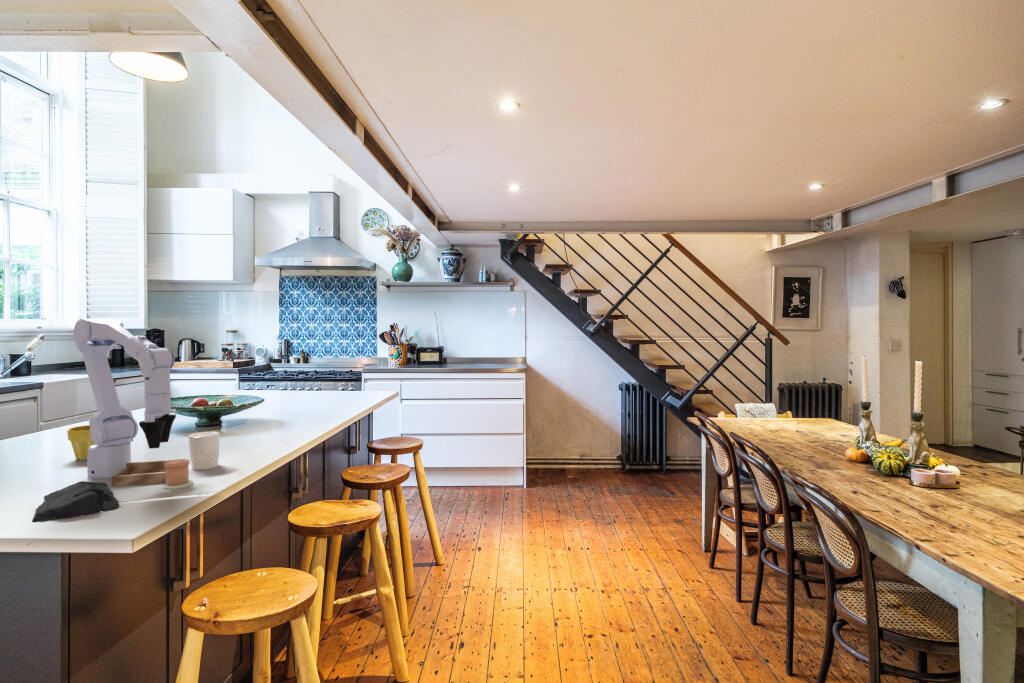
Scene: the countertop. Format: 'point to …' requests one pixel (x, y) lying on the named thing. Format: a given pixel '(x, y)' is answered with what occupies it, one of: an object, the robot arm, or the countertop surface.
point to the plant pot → (80, 440)
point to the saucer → (178, 485)
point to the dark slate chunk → (76, 501)
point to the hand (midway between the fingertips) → (159, 445)
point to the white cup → (204, 450)
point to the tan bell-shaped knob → (177, 472)
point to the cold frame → (141, 473)
